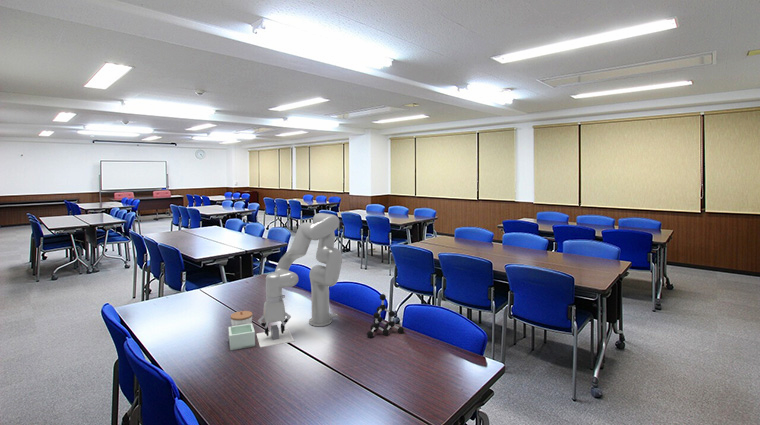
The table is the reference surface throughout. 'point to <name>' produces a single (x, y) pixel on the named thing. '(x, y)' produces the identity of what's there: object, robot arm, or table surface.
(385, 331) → the molecular model
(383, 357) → the table surface
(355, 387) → the table surface
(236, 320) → the lidded jar
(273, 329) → the lid
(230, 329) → the pale green open bin
